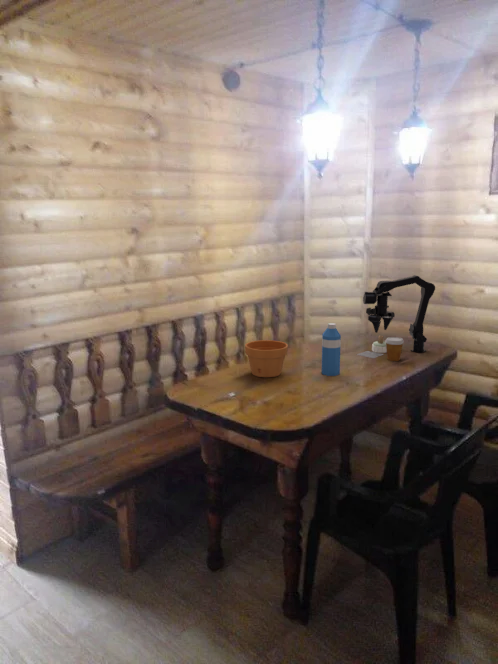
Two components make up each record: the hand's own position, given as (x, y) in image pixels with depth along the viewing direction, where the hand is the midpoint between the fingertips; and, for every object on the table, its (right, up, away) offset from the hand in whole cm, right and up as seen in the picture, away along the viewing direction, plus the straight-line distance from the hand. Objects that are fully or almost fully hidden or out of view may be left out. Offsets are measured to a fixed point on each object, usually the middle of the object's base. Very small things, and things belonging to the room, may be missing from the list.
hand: (380, 331), depth 313 cm
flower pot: (-65, -21, -35) cm, 77 cm away
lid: (0, -8, +2) cm, 8 cm away
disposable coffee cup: (+3, -16, -15) cm, 22 cm away
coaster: (-7, -14, -5) cm, 16 cm away
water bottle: (-34, -21, -36) cm, 54 cm away
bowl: (0, -12, +3) cm, 12 cm away
